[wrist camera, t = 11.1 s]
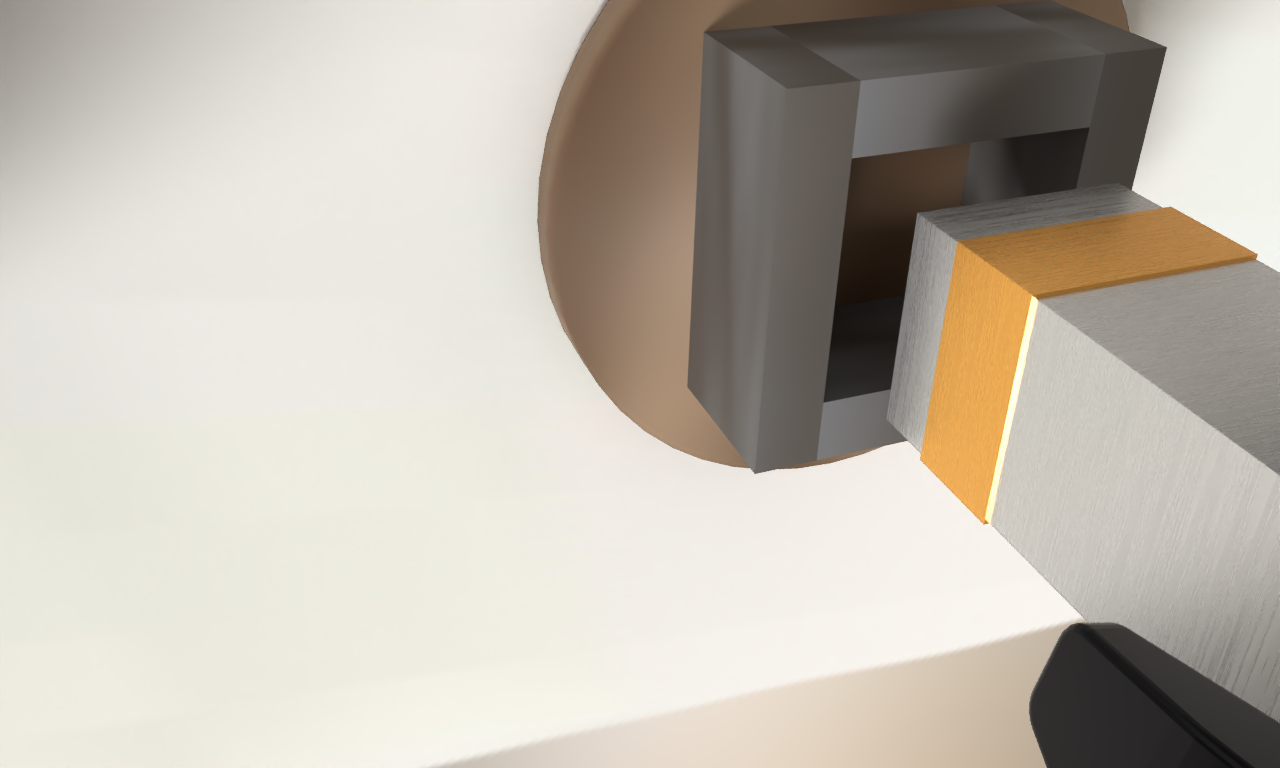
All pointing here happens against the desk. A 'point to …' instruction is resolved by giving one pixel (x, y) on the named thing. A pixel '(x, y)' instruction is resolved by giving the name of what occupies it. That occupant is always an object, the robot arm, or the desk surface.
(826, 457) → the stand base
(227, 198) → the desk surface
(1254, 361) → the post
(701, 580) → the desk surface
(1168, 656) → the robot arm
